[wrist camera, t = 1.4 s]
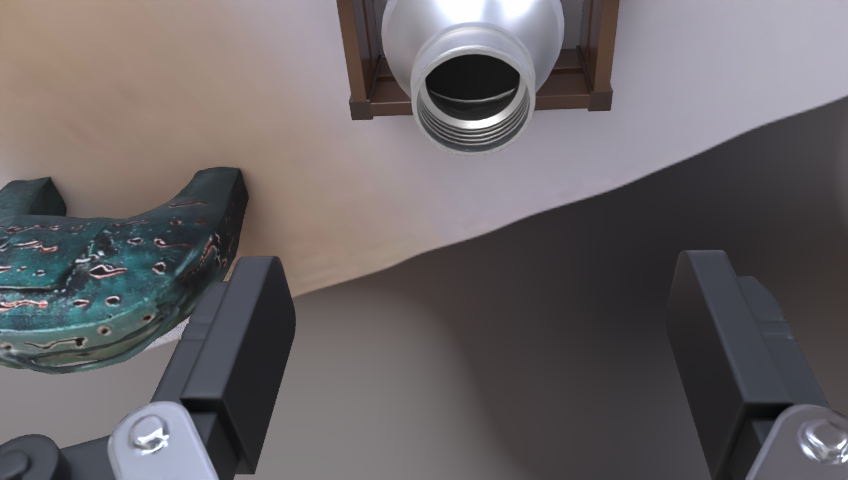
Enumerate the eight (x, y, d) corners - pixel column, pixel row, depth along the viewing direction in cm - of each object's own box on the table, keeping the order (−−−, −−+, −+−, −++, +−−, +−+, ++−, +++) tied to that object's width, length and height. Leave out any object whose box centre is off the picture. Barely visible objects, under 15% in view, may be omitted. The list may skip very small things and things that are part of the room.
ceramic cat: (20, 228, 50) (-180, 458, 35) (-25, 157, 46) (-274, 382, 31) (266, 215, 48) (167, 455, 33) (241, 140, 44) (115, 373, 29)
